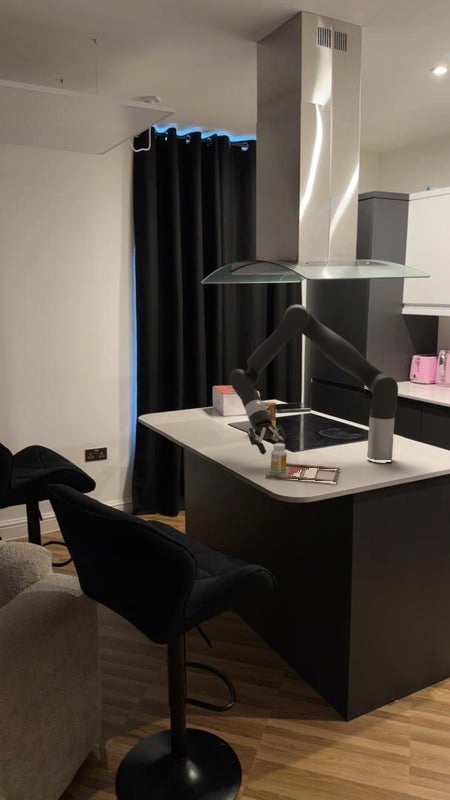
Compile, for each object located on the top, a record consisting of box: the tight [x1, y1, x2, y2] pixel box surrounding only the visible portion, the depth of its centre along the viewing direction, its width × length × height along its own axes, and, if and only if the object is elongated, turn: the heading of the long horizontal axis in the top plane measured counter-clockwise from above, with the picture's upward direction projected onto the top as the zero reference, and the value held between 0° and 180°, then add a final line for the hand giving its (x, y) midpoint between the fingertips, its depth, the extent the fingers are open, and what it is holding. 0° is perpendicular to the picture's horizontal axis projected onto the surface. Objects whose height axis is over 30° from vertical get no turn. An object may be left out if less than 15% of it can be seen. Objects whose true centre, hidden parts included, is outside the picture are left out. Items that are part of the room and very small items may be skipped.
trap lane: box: [265, 462, 341, 482], centre depth 211 cm, size 24×16×1 cm
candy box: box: [254, 401, 277, 438], centre depth 265 cm, size 9×4×15 cm, turn 96°
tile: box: [267, 466, 290, 475], centre depth 214 cm, size 6×13×1 cm, turn 165°
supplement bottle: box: [270, 442, 288, 473], centre depth 213 cm, size 5×5×10 cm
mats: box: [286, 467, 309, 476], centre depth 211 cm, size 10×13×1 cm
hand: (274, 452), depth 215 cm, fingers open, 8 cm apart
